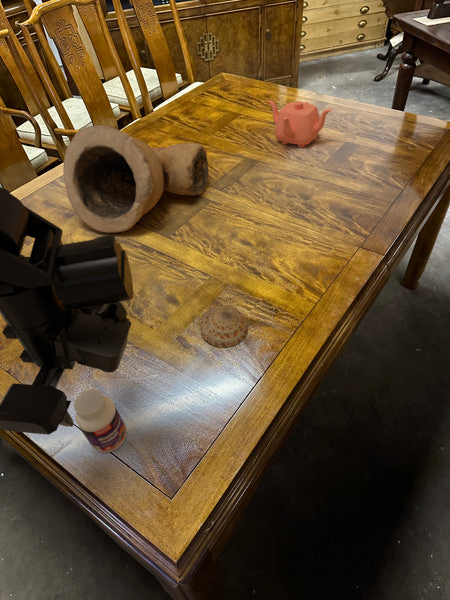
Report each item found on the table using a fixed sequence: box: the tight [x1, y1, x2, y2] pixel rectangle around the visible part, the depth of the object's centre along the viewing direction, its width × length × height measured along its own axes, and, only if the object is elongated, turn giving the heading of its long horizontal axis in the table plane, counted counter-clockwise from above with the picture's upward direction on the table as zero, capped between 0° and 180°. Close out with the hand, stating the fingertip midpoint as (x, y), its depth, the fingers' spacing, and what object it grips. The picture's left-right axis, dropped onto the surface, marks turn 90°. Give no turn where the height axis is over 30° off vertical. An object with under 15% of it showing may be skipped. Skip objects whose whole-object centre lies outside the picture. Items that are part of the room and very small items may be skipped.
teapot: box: [267, 99, 333, 148], centre depth 121 cm, size 14×14×11 cm
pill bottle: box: [73, 388, 127, 454], centre depth 58 cm, size 5×5×10 cm
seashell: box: [199, 304, 248, 348], centre depth 74 cm, size 8×6×8 cm
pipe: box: [62, 124, 209, 234], centre depth 103 cm, size 23×29×30 cm
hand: (83, 392), depth 54 cm, fingers open, 9 cm apart
